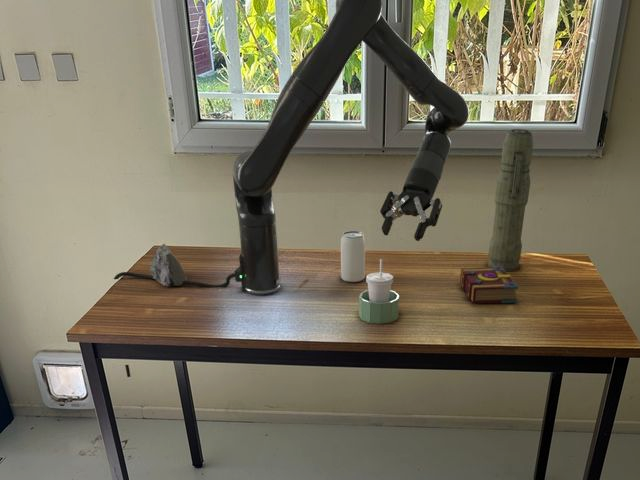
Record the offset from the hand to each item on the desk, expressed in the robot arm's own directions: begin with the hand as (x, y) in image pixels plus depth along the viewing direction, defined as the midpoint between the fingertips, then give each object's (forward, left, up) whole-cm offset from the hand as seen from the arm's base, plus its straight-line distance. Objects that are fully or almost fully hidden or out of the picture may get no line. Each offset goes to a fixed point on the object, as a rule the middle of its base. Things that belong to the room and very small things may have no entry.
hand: (400, 236), depth 166 cm
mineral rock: (-63, +5, -17) cm, 66 cm away
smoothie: (-3, -9, -17) cm, 19 cm away
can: (-14, +15, -17) cm, 27 cm away
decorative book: (+22, +11, -17) cm, 29 cm away
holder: (-3, -9, -16) cm, 19 cm away
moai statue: (+26, +33, -17) cm, 45 cm away
